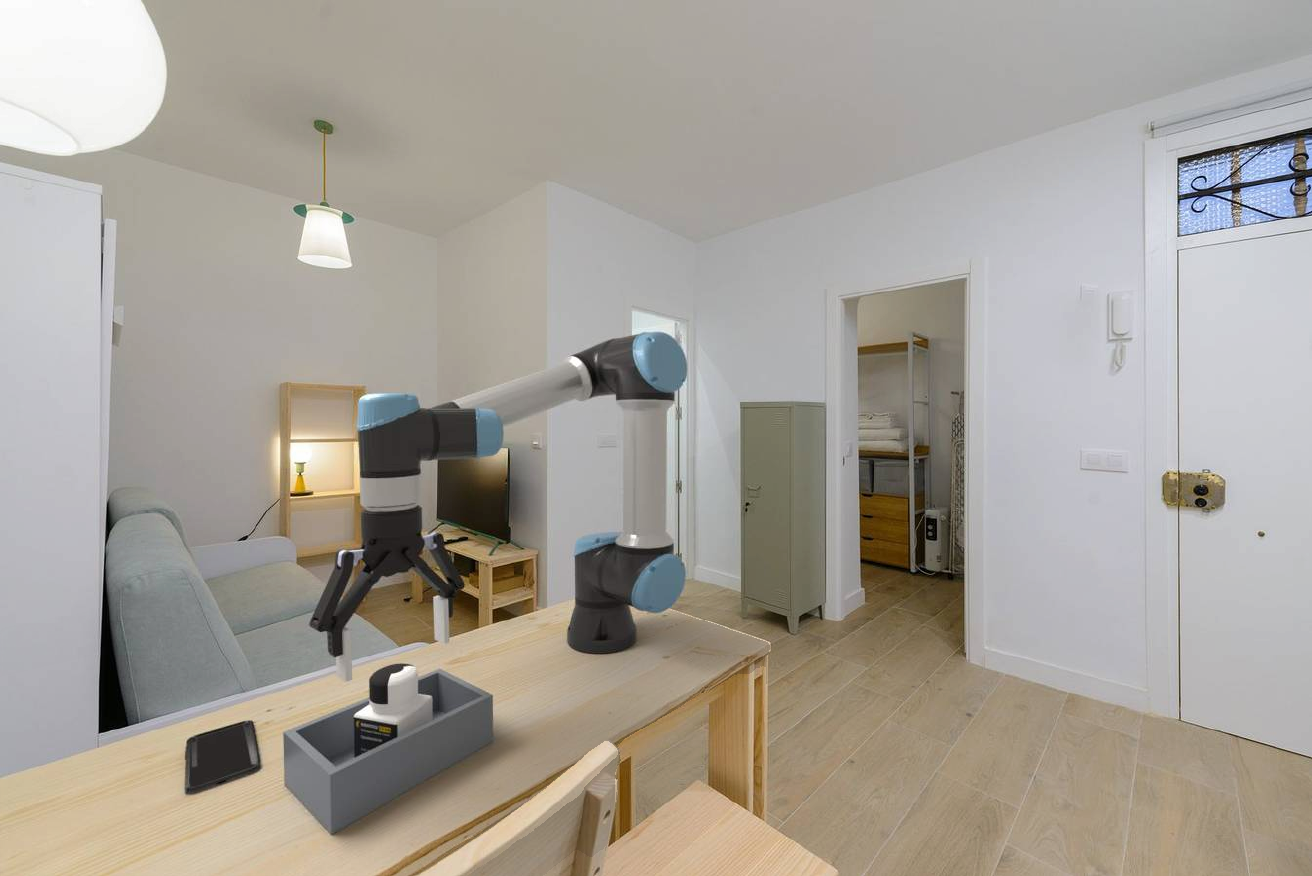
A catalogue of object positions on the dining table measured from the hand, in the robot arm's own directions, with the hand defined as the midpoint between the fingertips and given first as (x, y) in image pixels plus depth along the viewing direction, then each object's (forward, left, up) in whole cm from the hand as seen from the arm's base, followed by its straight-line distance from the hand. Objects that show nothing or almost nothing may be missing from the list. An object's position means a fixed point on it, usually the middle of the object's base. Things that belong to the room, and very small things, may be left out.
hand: (396, 658), depth 73 cm
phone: (+14, -21, -15) cm, 30 cm away
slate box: (0, 0, -15) cm, 15 cm away
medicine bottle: (0, 0, -14) cm, 14 cm away
